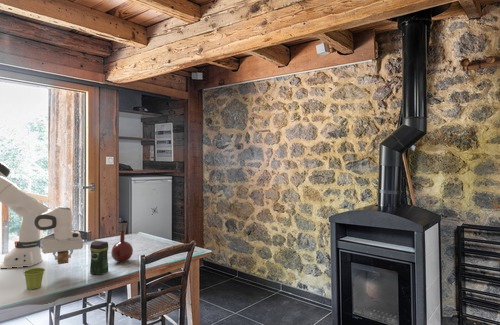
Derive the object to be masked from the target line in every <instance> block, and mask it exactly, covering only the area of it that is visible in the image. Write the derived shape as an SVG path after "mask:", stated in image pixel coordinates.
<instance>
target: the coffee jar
mask: <svg viewBox="0 0 500 325" xmlns="http://www.w3.org/2000/svg"><path fill="white" fill-rule="evenodd" d="M89 250H90V267H89V274H92V275H96V276H97V275H99V276H100V275H106V274H107V273H108V272H109V262H108V261H109V260H108V259H109V258H108V251H109V242H108V241H102V240H94V241H92V242H90V248H89Z"/></svg>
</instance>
